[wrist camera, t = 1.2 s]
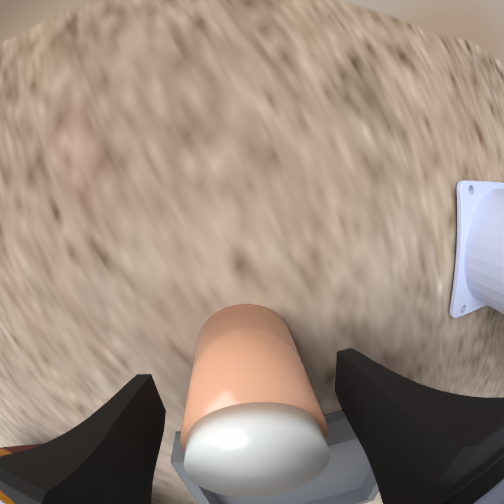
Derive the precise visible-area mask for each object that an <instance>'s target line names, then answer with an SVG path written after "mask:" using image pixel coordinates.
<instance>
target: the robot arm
mask: <svg viewBox="0 0 504 504" xmlns="http://www.w3.org/2000/svg"><path fill="white" fill-rule="evenodd" d="M486 305H488V306H490V307H491V308H493V309H495V310H497V311H499V312H500V313H502V314H504V183H502V182H486V181H463V180H461V181H459V182H458V184H457V248H456V263H455V274H454V283H453V291H452V298H451V305H450V312H449V314H450V316H452V317H453V318H458V317H461V316H463V315H465V314H468V313H470V312H473V311H475V310H477V309H480V308H482V307H484V306H486ZM335 392H336V394H337V397H338V400H339V403H340V405H341V408H342V410H343V412H344V414H345V416H346V418H347V420H348V422H349V424H350V425H351V427H352V429H353V431H354V433H355V435H356V436H357V438H358V440H359V442H360V444H361V446H362V447H363V449H364V451H365V453H366V456H367V458H368V460H369V463H370V466H371V468H372V471H373V474H374V477H375V480H376V482H377V485H378V488H379V491H380V495H381V498H382V502H383V504H504V398H482V397H470V396H463V395H457V394H453V393H448V392H444V391H440V390H436V389H433V388H430V387H427V386H424V385H421V384H419V383H416V382H414V381H411V380H409V379H407V378H405V377H403V376H400V375H398V374H396V373H394V372H392V371H390V370H389V369H387V368H385V367H383V366H381V365H380V364H378V363H376V362H374V361H373V360H371V359H369V358H368V357H366V356H364V355H363V354H361V353H359V352H358V351H356V350H354V349H352V348H350V349H346V350H342V351H338V352H337V365H336V381H335ZM165 413H166V410H165V408H164V405H163V403H162V401H161V398H160V396H159V393H158V391H157V388H156V386H155V383H154V380H153V378H152V375H151V374H137V375H136V376H135V377H134V378H133V379H131V380H130V381H129V382H128V383H127V384H126V385H125V386H124V387H123V388H122V389H121V390H120V391H119V392H118V393H116V394H115V395H114V396H113V397H112V398H111V399H110V400H109V401H108V402H107V403H106V404H104V405H103V406H102V407H101V408H100V409H98V410H97V411H96V412H95V413H94V414H92V415H91V416H90V417H89V418H87V419H86V420H85V421H83V422H82V423H80V424H79V425H78V426H76V427H74V428H73V429H71V430H70V431H68V432H66V433H65V434H63V435H61V436H59V437H57V438H55V439H53V440H51V441H49V442H47V443H44V444H42V445H39V446H37V447H34V448H31V449H28V450H25V451H21V452H17V453H12V454H8V455H2V456H1V457H0V490H1V491H2V492H3V493H4V494H5V495H6V496H7V497H9V498H10V499H11V500H12V501H13V502H14V503H16V504H151V493H152V482H153V475H154V471H155V466H156V462H157V458H158V454H159V449H160V445H161V441H162V437H163V432H164V424H165ZM0 504H5V503H4V502H2V501H1V500H0Z"/></svg>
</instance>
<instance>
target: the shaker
mask: <svg viewBox="0 0 504 504" xmlns="http://www.w3.org/2000/svg"><path fill="white" fill-rule="evenodd" d="M327 433H328V428H327V424H326V421H325V418H324V416H323V413H322V411H321V408H320V406H319V403H318V401H317V398H316V396H315V393H314V391H313V388H312V386H311V383H310V381H309V378H308V376H307V373H306V371H305V368H304V366H303V363H302V361H301V358H300V356H299V353H298V351H297V348H296V346H295V343H294V341H293V338H292V336H291V333H290V331H289V329H288V327H287V325H286V323H285V322H284V320H283V319H282V318H281V317H280V316H278V315H277V314H276V313H275V312H273V311H271V310H269V309H267V308H265V307H262V306H258V305H252V304H240V305H234V306H230V307H227V308H224V309H222V310H220V311H218V312H217V313H215V314H214V315H213V316H211V317H210V318H209V319H208V320H207V321H206V323H205V324H204V326H203V328H202V330H201V332H200V335H199V339H198V344H197V349H196V354H195V359H194V364H193V369H192V374H191V379H190V385H189V390H188V395H187V401H186V406H185V412H184V418H183V423H182V429H181V436H180V441H181V446H182V448H183V450H184V452H185V458H184V470H185V472H186V474H187V476H188V477H189V478H190V479H191V480H192V481H193V482H194V483H196V484H197V485H198V486H200V487H202V488H204V489H206V490H208V491H211V492H214V493H217V494H221V495H225V496H231V497H240V498H257V497H267V496H273V495H278V494H282V493H286V492H289V491H292V490H295V489H297V488H299V487H302V486H303V485H305V484H307V483H309V482H310V481H312V480H314V479H315V478H316V477H317V476H319V475H320V474H321V473H322V472H323V470H324V469H325V468H326V466H327V464H328V462H329V459H330V452H329V449H328V446H327V443H326V438H327Z"/></svg>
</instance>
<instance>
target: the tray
mask: <svg viewBox="0 0 504 504" xmlns="http://www.w3.org/2000/svg"><path fill="white" fill-rule="evenodd" d="M323 416H324V418H325V421H326V424H327V428H328V433H327V438H326V443H327V446H328V449H329V452H330V459H329V462H328V464H327V466H326V468H325V469H324V470H323V472H322V473H321V474H320V475H319V476H317V477H316V478H315V479H314V480H312V481H310V482H309V483H307V484H305V485H303V486H302V487H299V488H297V489H295V490H292V491H289V492H286V493H282V494H278V495H273V496H267V497H257V498H240V497H231V496H225V495H221V494H217V493H214V492H211V491H208V490H206V489H204V488H202V487H200V486H198V485H197V484H196V483H194V482H193V481H192V480H191V479H190V478H189V477H188V476H187V474H186V472H185V470H184V458H185V452H184V450H183V448H182V446H181V441H180V436H181V432H176V434H175V440H174V445H173V451H172V456H171V464H172V465H173V467H174V468H175V470H176V472H177V473H178V475H179V476H180V478H181V479H182V481H183V482H184V484H185V485H186V487H187V488H188V490H189V491H190V492H191V494H192V495H193V497H194V498H195V499H196V501H197V502H198V503H199V504H363V503H366V502H369V501H372V500H374V498H375V497H376V495H377V493H378V492H379V488H378V485H377V482H376V480H375V477H374V474H373V471H372V468H371V466H370V463H369V460H368V458H367V456H366V453H365V451H364V449H363V447H362V446H361V444H360V442H359V440H358V438H357V436H356V435H355V433H354V431H353V429H352V427H351V425H350V424H349V422H348V420H347V418H346V416H345V414H344V412H343V411H339V412H335V413H331V414H327V415H323Z"/></svg>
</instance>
